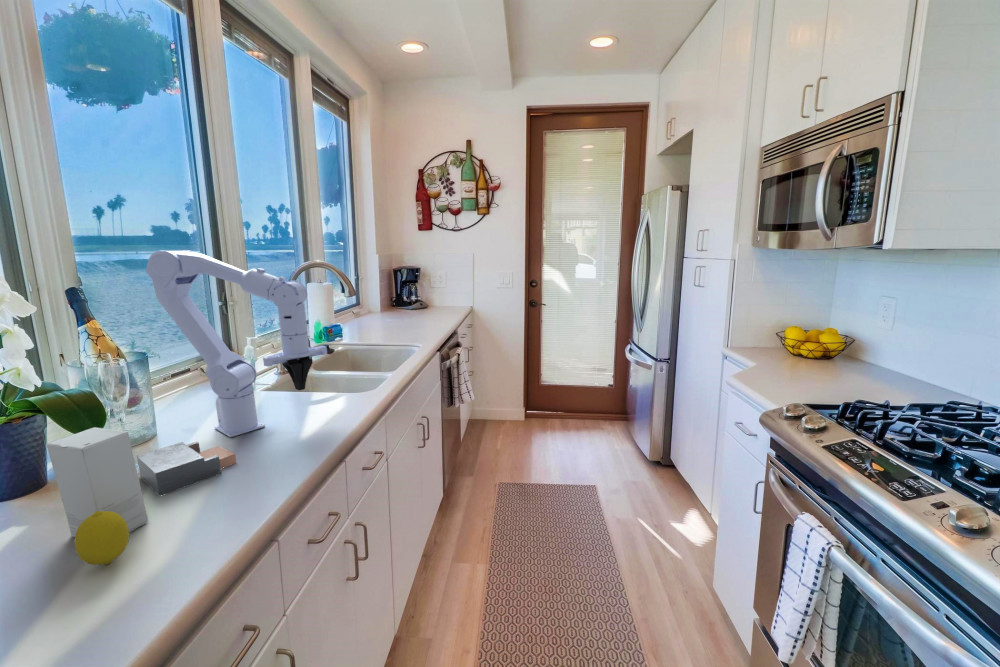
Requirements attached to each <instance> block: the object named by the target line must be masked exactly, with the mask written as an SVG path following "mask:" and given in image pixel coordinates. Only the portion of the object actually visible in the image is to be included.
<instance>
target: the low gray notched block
mask: <svg viewBox="0 0 1000 667" xmlns="http://www.w3.org/2000/svg"><path fill="white" fill-rule="evenodd" d="M200 452H201V448H200V443H199V442H198V441H194V442H191V443H188V444H187V443H185V442H183V441H182V442H178V443H174V444H172V445H168V446H165V447H161V448H158V449H154V450H152V451H148V452H144V453H141V454H138V455H136V459H137V460H136V461H137V464H138V470H139V475H140V478H141V477H142V478H143V479H142V478H141V479H142V480H143V481H144V482H145V483H146V485H148V487H150V489H152V491H154V493H155V494H156V495H157V496H159V497H161V495H162V496H164V494H165V495H168V494H169V493H172V492H175V491H178V490H181V489H183V488H186V487H188V486H189V487H190V486H192V485H196V484H197V483H201V482H203V481H205V480H209V479H211V478H214V477H216V475H217V476H220V475H222V469H221V466H220V460H219V456H218V455H216V456H213V457H210V458H207V459H204V457H203V456H201V455H200V454H198V453H200ZM213 476H214V477H213Z"/></svg>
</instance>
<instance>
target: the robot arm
mask: <svg viewBox="0 0 1000 667" xmlns="http://www.w3.org/2000/svg"><path fill="white" fill-rule="evenodd" d="M145 272H146V273H147V275H148V276H149V277H150V279H152V280H151V281H152V284H153V289H154V292H155V293H154V294H155V296H156V298H157V300H158V302H159V303H160V305H161V306H162V307H163V308H164V309H165V311H166V312H167V314H168V316H170V317H171V319H172V321H173V322H174V323H175V324H176V326H177V327H178V328H179V329H180V330H181V332H182V333H183V335H184V336H185V337H186V338H187V340H188V341H189V343H191V345H192V346H193V347H194V349H195V350H196V351H197V353H198V354H199V356H201V358H202V359H203V360H204V362H205V364H206V367H205V375H206V377H207V379H208V380H209V383H210V388H211V390H212V392H214V394H216V395H217V397H216V400H215V408H216V410H215V411H216V414H217V421H218V422H217V423H218V424H217V425H215V426H214V429H215V430H217V431H219V432H221V433H222V434H224V435H225V436H227V437H229V438H233V437H236V436H239V435H240V436H241V435H243V434H246V433H249V432H252V431H255V430H259V429H261V428H262V429H263V428H265V426H266V424H264V423H262V422H260V421H258V413H257V406H256V398H255V391H254V390H255V389H254V383H255V381H256V380H257V377H258V375H257V374H258V372H257V370H256V368H255V367H254V365H253V364H251V363H250V362H248V361H246V360H245V359H244V358H243V357H242V356H241V355H240V354H238V353H236V352H234V351H232V350H230V349H229V347H228V346H227V345H226V344H225V342H224V341H223V339H222V338H221V336H220V335H219V334H218V333H217V331H216V330H215V329H214V327H213V326H212V325H211V323H210V322H209V321H208V319H207V318H206V317H205V316H204V314H203V313H202V312H201V310H200V309H199V307H198V306H197V305H196V304H195V302H194V301H193V300H192V298H191V296H189V293H190V290H191V286H192V285H193V284H194V282H195V280H196V279H198V276H199V275H200V274H204V275H208V276H211V277H215V278H217V279H221V280H224V281H227V282H230V283H233V284H237V285H239V286H240V287H241V289H242V291H243V292H244V293H247V294H250V295H253V296H254V297H257V298H261V299H263V300H265V301H266V300H267V301H269V302H273V304H274V305H275V306H276V307H277V313H278V321H279V330H280V338H281V347H282V351H281V352H279V353H274V354H272V355H268V356H264V357H262V359H263V360H262V361H263V366H264V367H268V368H269V367H272V366H274V365H279V364H280V365H281V364H282V366H283V367H284V368H285V370H286V371H287V373H288V375H289V376H290V378H291V381H292V383H293V385H294V389H295V390H297V391H303V390H305V389H306V385H307V384H306V383H307V379H308V376H309V375H308V374H309V372H310V369H311V367H312V365H313V359H312V357H316V356H321V355H323V356H325V355H328V348H327V347H328V346H325V345H319V346H312V347H310V346H309V345H310V344H309V335H308V333H309V332H308V324H307V315H306V306H305V303H304V302H306V300H307V297H308V291H307V288H306V287H305V286H304V284H302V283H301V282H299V281H297V280H289V281H287V278H286V277H285V276H279V277H278V276H277V275H276V276H275V275H273V274H270V273H268V272H266V269H265V268H261V267H259V268H257V269H256V268H251V269H249V270H243V269H240V268H238V267H236V266H233V265H232V264H229V263H226V262H223V261H221V260H218V259H216V258H213V257H211V256H208V255H206V254H203V253H199V252H195V251H192V250H189V249H184V250H157V251H154V252H153V253H151V255H150V256H149V258H148V261H147V265H146V269H145Z"/></svg>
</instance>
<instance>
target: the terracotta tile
mask: <svg viewBox="0 0 1000 667" xmlns="http://www.w3.org/2000/svg"><path fill="white" fill-rule="evenodd" d="M198 454H200V455H201V456H203V457H204V459H207V458H210V457H213V456H216V455H218V456H219V460H220V466H221V468H222V469H224V468H226V466H227V467H230V466H231V465H234V464H236V463H237V457H236V453H234V452H232V451H230V450H227V449H225V448H224V447H221V446H219V445H217V446H214V447H212V448H209V449H206V450H203V451H200V453H198ZM223 467H224V468H223Z"/></svg>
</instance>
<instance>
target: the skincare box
mask: <svg viewBox="0 0 1000 667" xmlns="http://www.w3.org/2000/svg"><path fill="white" fill-rule="evenodd" d="M46 448H47V451H48V455H49V458H50V462H51V466H52V470H53V474H54V476H55V480H56V484H57V486H58V490H59V491H58V492H59V494H60V495H59V496H60V499H61V502H62V506H63V509H64V513H65V516H66V519H67V520H66V521H67V524H68V528H69V532H70V535H71V537H72V538H75V536H76V532H77V529H78V527H79V526H80V524H81V523H82V522H83V521H84V520H85V519H86V518H88V517H89V516H91V515H93V514H94V513H95V512H97V511H111V512H115V513H118V514H119V515H121V516H122V517H123V518H124V520H125V521H126V523H127V526H128V530H129V533H131V532H132V531H134V530H136V529H139V527H142V526H143V525H145V524H146V523H148V522H149V519H148V518H149V517H148V514H147V508H146V506H145V501H144V496H143V493H142V488H141V484H140V479H139V475H138V470H137V466H136V463H135V462H136V461H135V457H134V453H133V448H132V443H131V439H130V435H129V431H125V430H124V431H123V430H119V429H117V430H116V429H109V428H102V427H95V426H94V427H91V428H88V429H85V430H83V431H80V432H76V433H74V434H72V435H71V434H70V435H68V436H65V437H63V438H59V439H57V440H54V441H52V442H49V443H48V442H47V444H46Z"/></svg>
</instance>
